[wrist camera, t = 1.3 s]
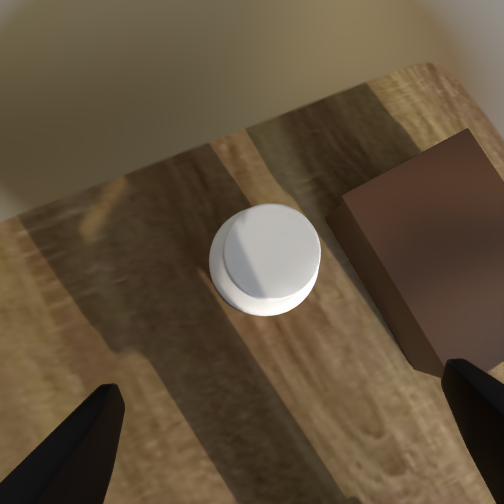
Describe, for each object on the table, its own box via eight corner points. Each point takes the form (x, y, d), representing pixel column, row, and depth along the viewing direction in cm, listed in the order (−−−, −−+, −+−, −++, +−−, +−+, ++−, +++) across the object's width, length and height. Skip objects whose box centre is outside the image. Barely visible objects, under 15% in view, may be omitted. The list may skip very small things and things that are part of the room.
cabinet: (526, 301, 25) (594, 300, 20) (412, 376, 23) (459, 392, 19) (432, 155, 26) (477, 122, 21) (318, 216, 24) (340, 195, 20)
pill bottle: (198, 256, 23) (182, 219, 14) (268, 221, 24) (299, 164, 14) (234, 328, 23) (244, 343, 13) (304, 290, 23) (362, 278, 14)
